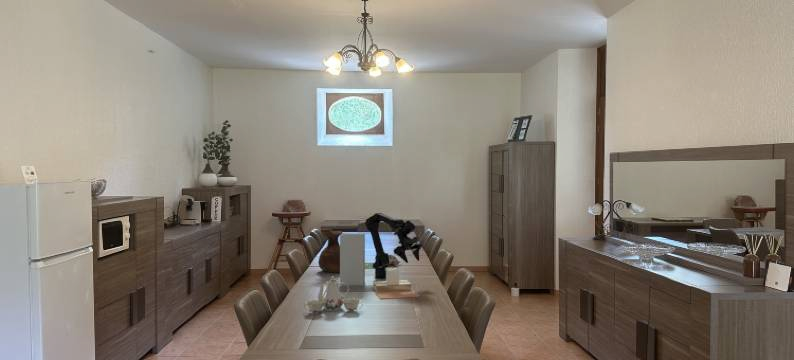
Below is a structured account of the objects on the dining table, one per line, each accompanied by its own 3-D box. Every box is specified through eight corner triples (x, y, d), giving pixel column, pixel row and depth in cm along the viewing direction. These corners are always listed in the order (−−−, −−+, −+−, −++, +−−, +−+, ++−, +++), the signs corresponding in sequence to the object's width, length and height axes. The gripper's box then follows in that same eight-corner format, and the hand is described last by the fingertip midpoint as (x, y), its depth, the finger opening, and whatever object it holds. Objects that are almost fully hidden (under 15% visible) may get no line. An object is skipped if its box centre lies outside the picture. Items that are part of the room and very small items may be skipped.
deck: (373, 288, 294) (373, 281, 293) (406, 286, 298) (406, 279, 298) (376, 292, 283) (377, 285, 283) (411, 290, 288) (411, 283, 288)
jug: (314, 269, 346) (314, 225, 345) (343, 266, 355) (343, 224, 354) (323, 275, 326) (323, 229, 325) (354, 273, 335) (354, 228, 334)
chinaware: (305, 320, 237) (306, 286, 235) (302, 307, 253) (303, 275, 251) (364, 316, 245) (364, 283, 243) (357, 303, 261) (358, 272, 259)
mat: (375, 293, 282) (375, 292, 282) (413, 291, 287) (413, 290, 287) (380, 299, 270) (380, 298, 270) (419, 296, 275) (419, 296, 275)
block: (386, 282, 292) (386, 268, 291) (396, 281, 293) (396, 267, 293) (388, 284, 285) (389, 270, 285) (399, 284, 286) (399, 270, 286)
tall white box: (364, 282, 307) (365, 233, 306) (363, 285, 301) (363, 235, 300) (341, 282, 308) (341, 233, 307) (339, 284, 302) (340, 234, 302)
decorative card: (402, 253, 370) (403, 258, 350) (401, 263, 370) (403, 269, 350) (357, 253, 368) (356, 258, 348) (357, 263, 369) (356, 269, 349)
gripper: (399, 233, 293) (409, 257, 287) (422, 230, 306) (432, 253, 300) (388, 242, 301) (398, 265, 294) (411, 239, 313) (421, 261, 307)
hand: (413, 261), depth 299 cm, fingers open, 9 cm apart
